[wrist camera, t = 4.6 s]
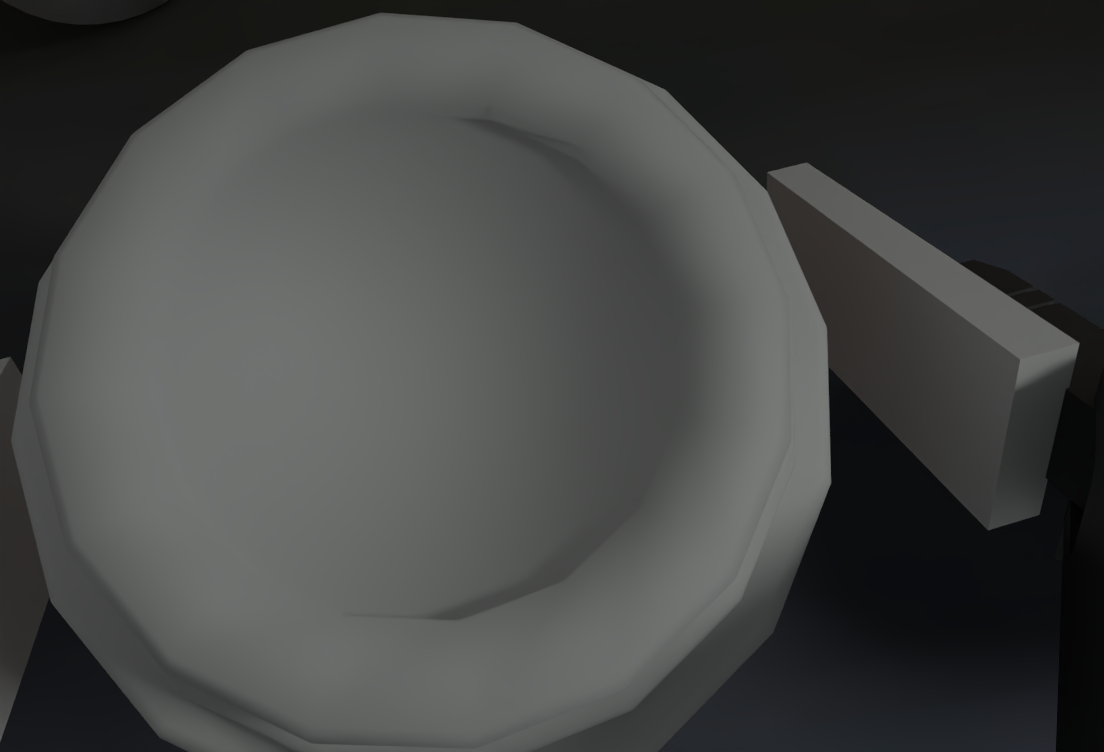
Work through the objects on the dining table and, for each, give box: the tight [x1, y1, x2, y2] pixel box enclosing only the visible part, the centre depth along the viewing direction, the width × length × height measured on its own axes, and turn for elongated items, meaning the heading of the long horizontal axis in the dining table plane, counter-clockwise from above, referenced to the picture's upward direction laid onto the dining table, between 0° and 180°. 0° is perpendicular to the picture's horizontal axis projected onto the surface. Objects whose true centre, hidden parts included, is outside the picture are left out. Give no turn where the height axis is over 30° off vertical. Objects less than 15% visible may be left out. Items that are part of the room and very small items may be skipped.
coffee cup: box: [11, 13, 831, 752], centre depth 14 cm, size 9×9×12 cm
